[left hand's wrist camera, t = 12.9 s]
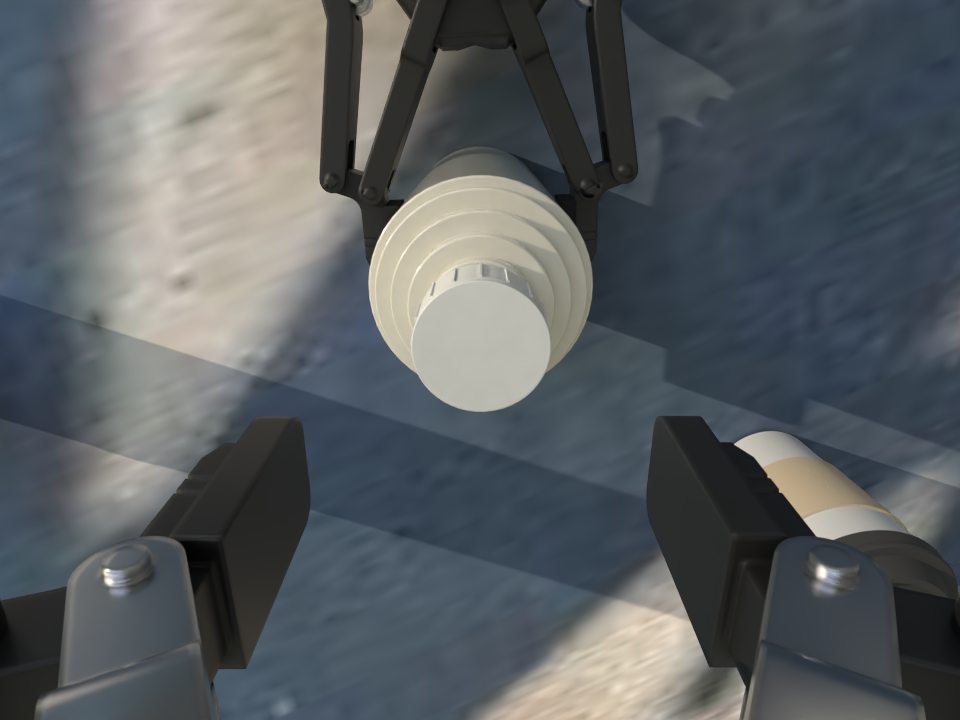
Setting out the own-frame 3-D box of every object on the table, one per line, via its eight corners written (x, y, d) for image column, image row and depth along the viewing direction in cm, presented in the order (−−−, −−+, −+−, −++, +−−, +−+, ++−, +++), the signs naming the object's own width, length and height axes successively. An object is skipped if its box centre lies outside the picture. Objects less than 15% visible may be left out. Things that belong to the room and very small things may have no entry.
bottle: (559, 161, 37) (663, 229, 16) (529, 290, 40) (585, 488, 19) (425, 133, 37) (354, 167, 16) (405, 266, 39) (322, 444, 19)
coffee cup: (852, 467, 45) (1021, 630, 31) (754, 546, 47) (869, 729, 33) (770, 392, 43) (911, 530, 29) (672, 479, 45) (757, 645, 31)
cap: (559, 276, 18) (567, 294, 16) (529, 394, 20) (534, 423, 18) (427, 251, 18) (421, 267, 16) (407, 373, 19) (400, 400, 18)
